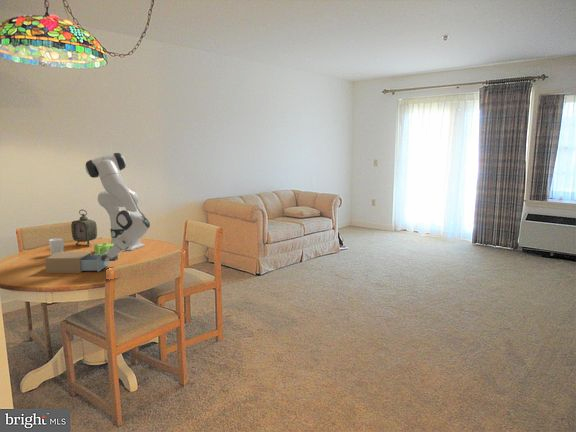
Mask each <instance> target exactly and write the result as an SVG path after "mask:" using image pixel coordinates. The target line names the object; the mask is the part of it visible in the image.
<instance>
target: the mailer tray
mask: <svg viewBox="0 0 576 432" xmlns="http://www.w3.org/2000/svg"><path fill="white" fill-rule="evenodd" d="M106 254H107V252H106V253H104V254H103V255H95V254H91V255H87V256H85V257H83V258H81V259H80V263H81V271H83V272H84V271H85V272H86V271H87V272H88V271H89V272H91V271H97V273H99V272H101V271H103V269H105V268H106V267H108V266H109V265H110V262H115V261H117V260H118V259H119V256H118V255H119V254H118V255H116V256H115V257H113V258H112V259H110V260H109V261H108V262H106V261H105V259H106V258H107V255H106Z"/></svg>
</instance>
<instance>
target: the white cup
mask: <svg viewBox="0 0 576 432" xmlns="http://www.w3.org/2000/svg"><path fill="white" fill-rule="evenodd" d="M64 243H65V242H64V238H61V237H59V238H58V237H57V238H50V239H48V246H49V250H50V256H51V255H54V254H56V253H58V252H65V251H64V247H65V246H64Z"/></svg>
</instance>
